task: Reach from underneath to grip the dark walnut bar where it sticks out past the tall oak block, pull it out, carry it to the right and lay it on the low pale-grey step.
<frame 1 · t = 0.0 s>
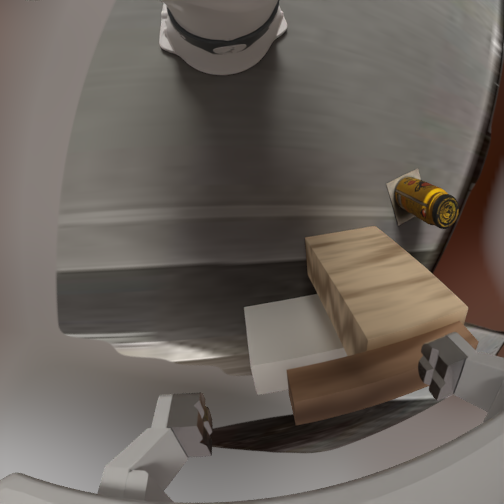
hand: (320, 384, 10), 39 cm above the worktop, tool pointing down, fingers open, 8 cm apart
step: (286, 315, 56), on the worktop
stand: (342, 250, 51), on the worktop
bar: (382, 359, 28), point 26 cm above the worktop, touching stand
condiment: (407, 196, 48), on the worktop
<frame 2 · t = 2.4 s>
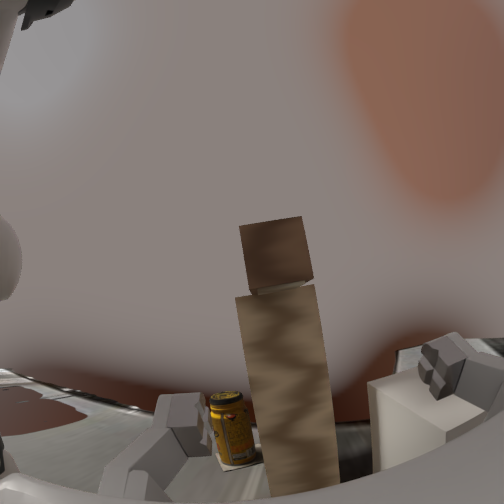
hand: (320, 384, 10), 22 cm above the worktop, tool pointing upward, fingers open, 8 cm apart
stand: (303, 492, 28), on the worktop
bar: (273, 292, 28), point 26 cm above the worktop, touching stand
condiment: (244, 458, 41), on the worktop
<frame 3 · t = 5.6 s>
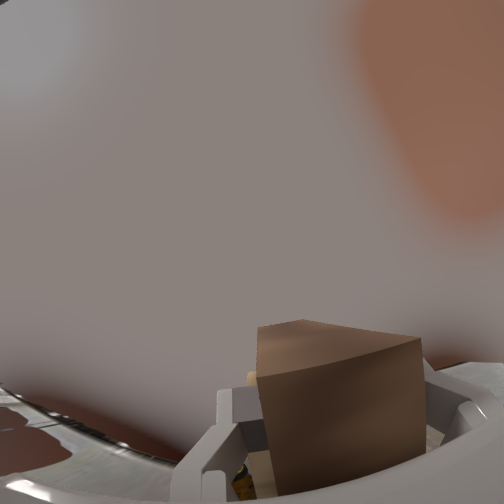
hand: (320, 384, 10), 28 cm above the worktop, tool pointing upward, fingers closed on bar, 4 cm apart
bar: (304, 399, 15), point 26 cm above the worktop, touching gripper, stand
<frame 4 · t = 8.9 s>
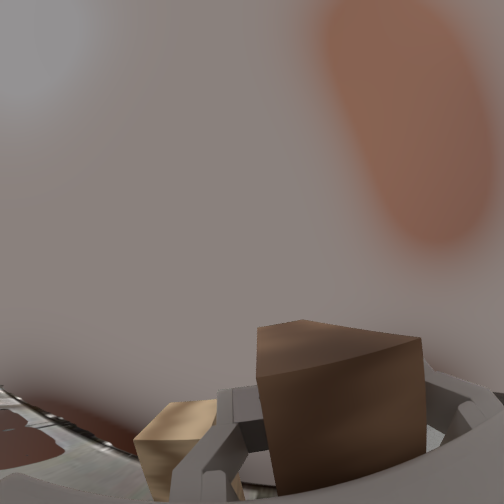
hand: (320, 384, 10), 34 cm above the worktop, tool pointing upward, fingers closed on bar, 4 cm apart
bar: (304, 399, 15), point 31 cm above the worktop, touching gripper
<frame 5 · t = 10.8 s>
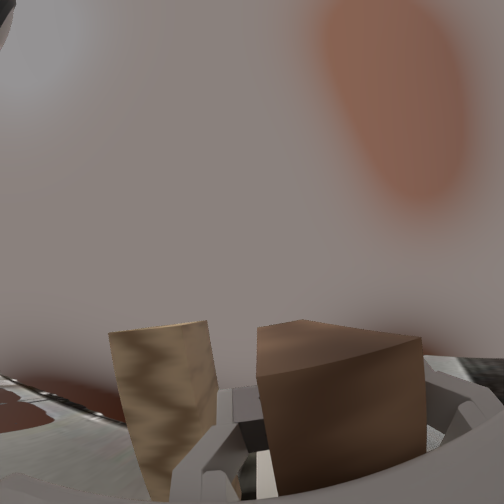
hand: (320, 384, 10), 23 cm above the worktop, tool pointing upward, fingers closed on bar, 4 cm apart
bar: (304, 399, 15), point 21 cm above the worktop, touching gripper
when the fingers open (19 cm above the worktop, at t = 12.1 s): bar drops 1 cm, resting on step.
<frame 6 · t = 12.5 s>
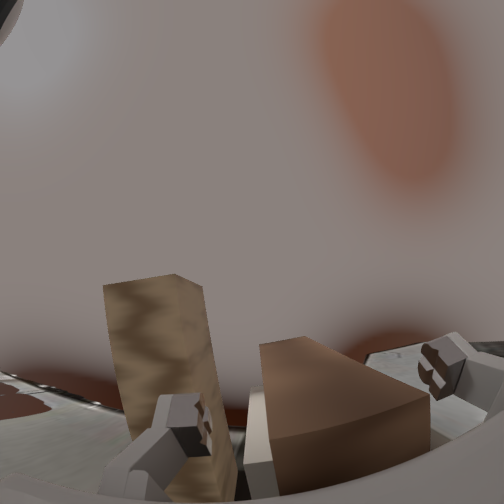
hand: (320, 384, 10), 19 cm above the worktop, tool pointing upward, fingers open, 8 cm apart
stand: (205, 497, 26), on the worktop
bar: (307, 422, 15), point 15 cm above the worktop, touching step
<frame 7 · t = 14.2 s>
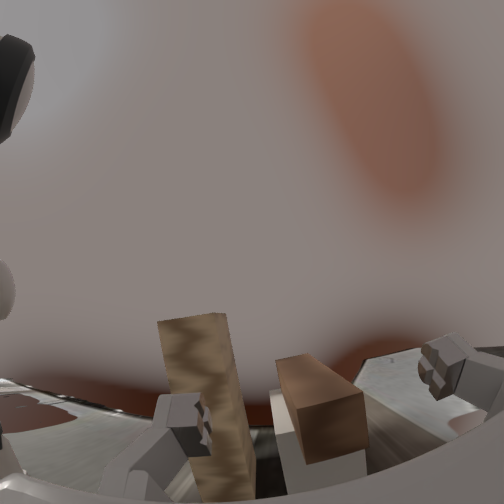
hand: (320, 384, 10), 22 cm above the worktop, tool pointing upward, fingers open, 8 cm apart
stand: (232, 480, 35), on the worktop
bar: (311, 411, 24), point 15 cm above the worktop, touching step
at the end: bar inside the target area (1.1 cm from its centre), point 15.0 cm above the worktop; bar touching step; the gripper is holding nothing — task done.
